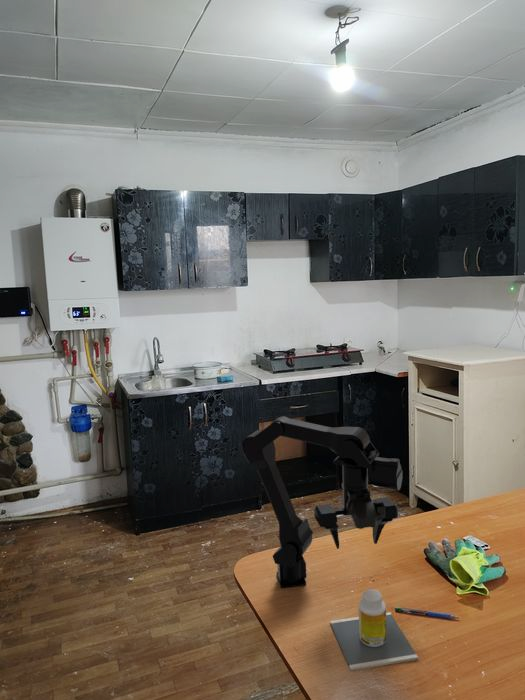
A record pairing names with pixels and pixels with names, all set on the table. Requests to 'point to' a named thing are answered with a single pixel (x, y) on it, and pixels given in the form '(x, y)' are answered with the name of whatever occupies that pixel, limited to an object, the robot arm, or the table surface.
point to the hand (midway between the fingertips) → (356, 545)
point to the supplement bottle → (372, 618)
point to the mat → (368, 657)
